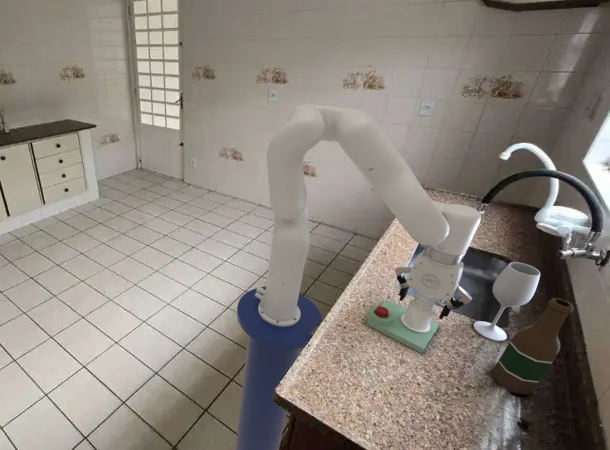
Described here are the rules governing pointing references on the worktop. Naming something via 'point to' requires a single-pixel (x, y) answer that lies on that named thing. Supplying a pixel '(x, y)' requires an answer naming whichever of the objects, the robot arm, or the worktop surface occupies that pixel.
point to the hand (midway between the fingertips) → (421, 307)
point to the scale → (400, 326)
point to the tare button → (381, 312)
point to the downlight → (419, 312)
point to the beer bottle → (532, 350)
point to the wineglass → (510, 295)
